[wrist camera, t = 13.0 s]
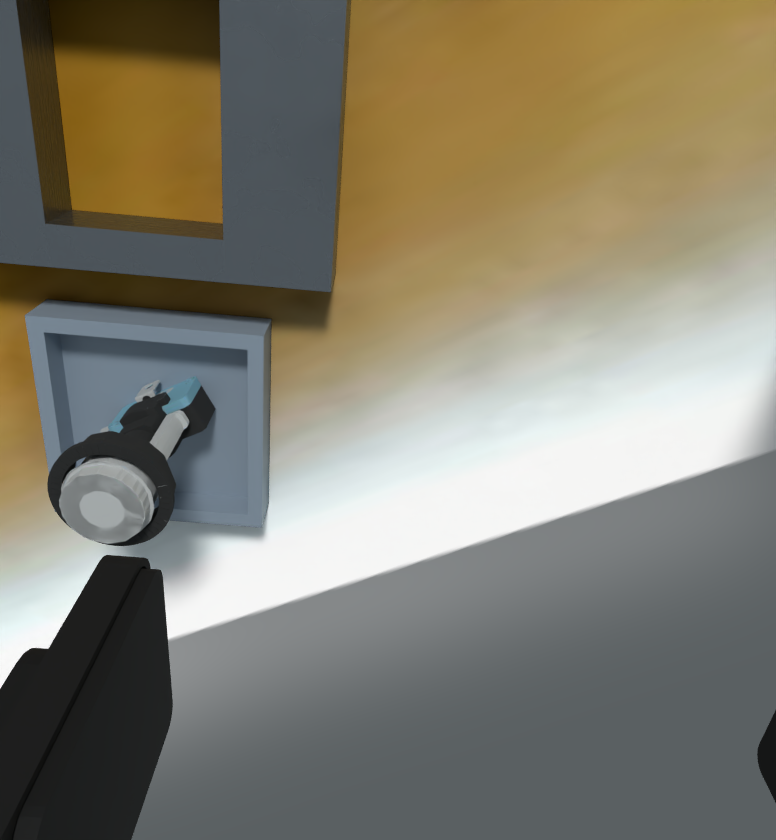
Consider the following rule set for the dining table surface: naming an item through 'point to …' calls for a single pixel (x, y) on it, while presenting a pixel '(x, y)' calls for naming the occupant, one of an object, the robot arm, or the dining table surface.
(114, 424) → the push button
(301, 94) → the block
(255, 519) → the tray
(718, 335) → the dining table surface
